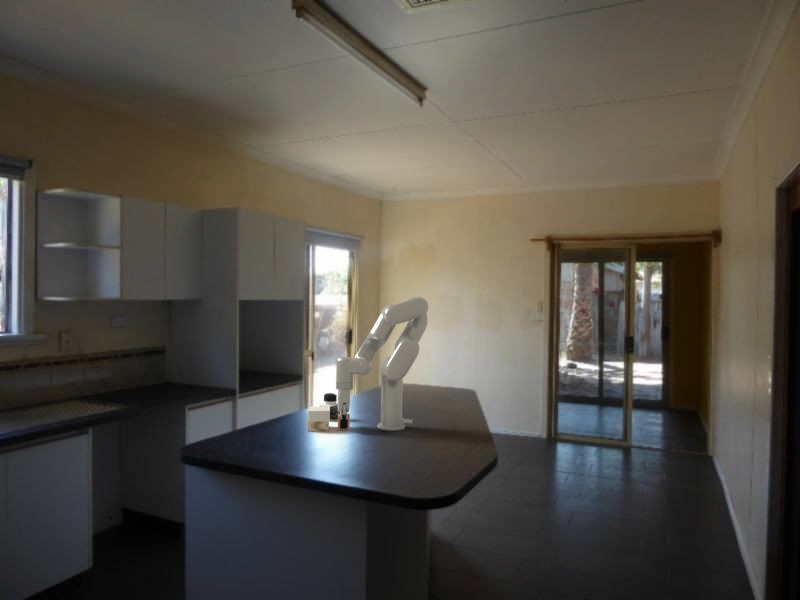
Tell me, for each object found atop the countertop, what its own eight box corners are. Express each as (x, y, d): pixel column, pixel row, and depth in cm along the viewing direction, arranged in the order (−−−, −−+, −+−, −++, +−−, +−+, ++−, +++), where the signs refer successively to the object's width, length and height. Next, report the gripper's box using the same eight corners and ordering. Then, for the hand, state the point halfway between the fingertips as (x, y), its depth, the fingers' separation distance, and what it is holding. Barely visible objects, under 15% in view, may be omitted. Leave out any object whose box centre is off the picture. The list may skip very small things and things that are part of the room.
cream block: (329, 416, 250) (329, 406, 250) (329, 421, 241) (329, 410, 241) (308, 416, 249) (309, 406, 248) (308, 421, 240) (308, 411, 240)
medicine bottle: (329, 421, 259) (330, 395, 259) (318, 419, 263) (319, 393, 263) (340, 419, 265) (341, 393, 265) (329, 416, 269) (330, 391, 269)
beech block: (328, 426, 250) (328, 416, 250) (328, 431, 241) (328, 421, 241) (308, 427, 249) (308, 416, 249) (307, 432, 240) (307, 421, 240)
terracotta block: (349, 427, 249) (349, 413, 249) (349, 430, 244) (349, 416, 244) (337, 427, 248) (338, 413, 248) (338, 430, 243) (338, 416, 243)
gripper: (335, 382, 254) (334, 422, 254) (336, 388, 237) (335, 431, 237) (352, 382, 255) (351, 422, 255) (354, 388, 238) (353, 431, 238)
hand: (343, 426), depth 246 cm, fingers closed on terracotta block, 5 cm apart
